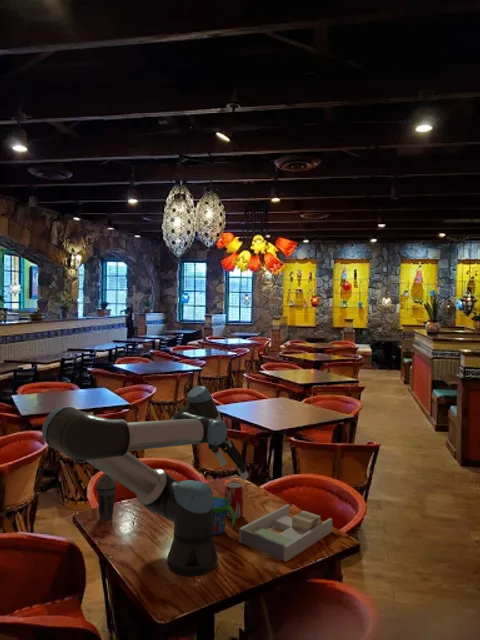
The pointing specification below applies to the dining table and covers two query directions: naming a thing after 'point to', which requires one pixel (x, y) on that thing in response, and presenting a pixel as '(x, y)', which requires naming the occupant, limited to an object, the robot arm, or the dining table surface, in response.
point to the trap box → (281, 534)
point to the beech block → (305, 521)
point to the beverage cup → (106, 497)
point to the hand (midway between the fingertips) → (234, 471)
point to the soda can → (234, 498)
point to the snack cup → (221, 515)
